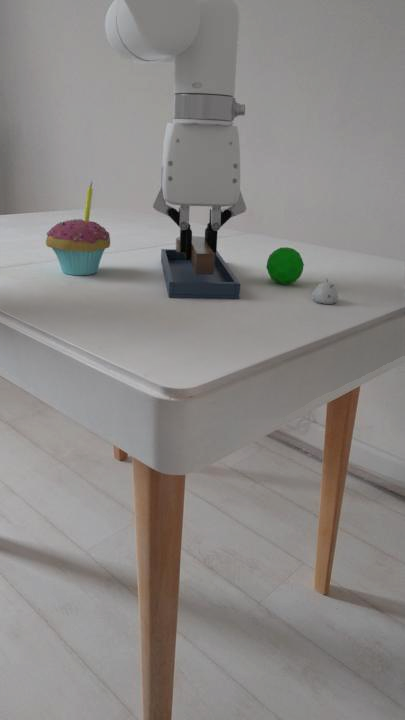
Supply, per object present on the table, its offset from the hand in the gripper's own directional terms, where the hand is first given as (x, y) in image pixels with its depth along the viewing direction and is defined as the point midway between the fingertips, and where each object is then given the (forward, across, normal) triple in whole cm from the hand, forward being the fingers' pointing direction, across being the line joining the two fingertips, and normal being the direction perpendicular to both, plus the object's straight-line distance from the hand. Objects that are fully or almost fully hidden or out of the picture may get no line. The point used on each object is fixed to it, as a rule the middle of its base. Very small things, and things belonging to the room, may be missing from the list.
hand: (197, 257), depth 77 cm
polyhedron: (+3, -12, +2) cm, 12 cm away
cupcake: (+3, +16, -2) cm, 17 cm away
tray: (+3, 0, 0) cm, 3 cm away
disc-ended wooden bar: (0, 0, 0) cm, 0 cm away
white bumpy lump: (+3, -15, +11) cm, 19 cm away
